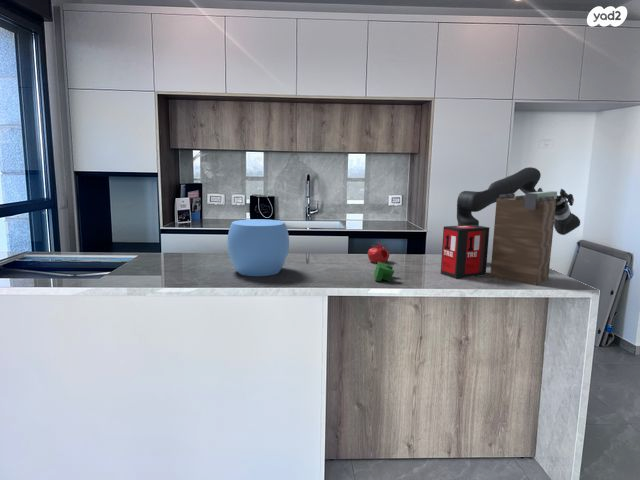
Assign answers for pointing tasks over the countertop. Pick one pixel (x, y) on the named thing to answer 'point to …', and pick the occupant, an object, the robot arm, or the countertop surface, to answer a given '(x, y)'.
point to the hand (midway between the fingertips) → (550, 190)
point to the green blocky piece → (383, 272)
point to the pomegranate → (378, 254)
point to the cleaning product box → (464, 251)
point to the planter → (258, 246)
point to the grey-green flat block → (537, 198)
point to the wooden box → (522, 239)
